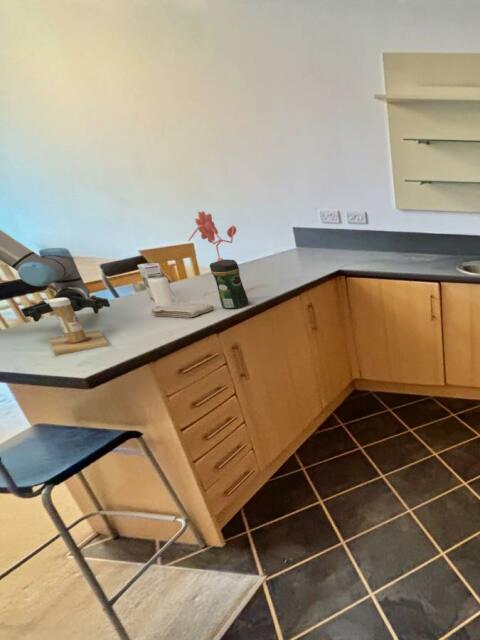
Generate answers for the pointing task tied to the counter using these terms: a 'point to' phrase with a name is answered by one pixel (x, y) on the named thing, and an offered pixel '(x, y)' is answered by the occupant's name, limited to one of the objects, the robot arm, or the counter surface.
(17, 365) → the counter surface
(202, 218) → the red flower
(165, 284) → the can
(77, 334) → the sprinkles bottle
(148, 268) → the syrup box
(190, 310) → the washcloth
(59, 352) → the mat
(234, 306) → the coffee jar
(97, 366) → the counter surface
